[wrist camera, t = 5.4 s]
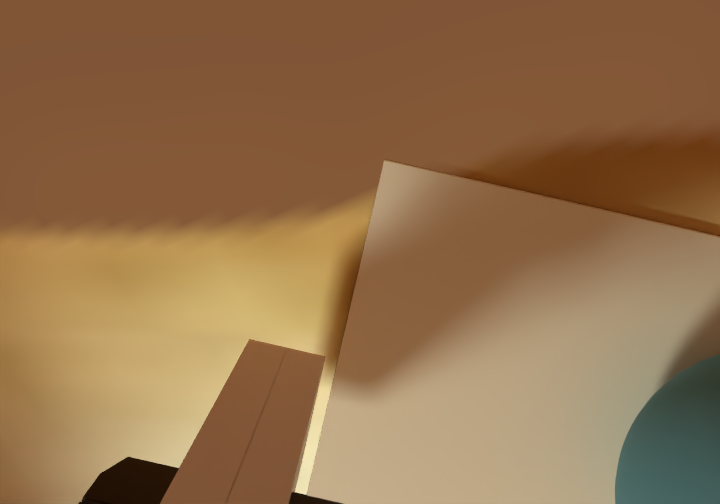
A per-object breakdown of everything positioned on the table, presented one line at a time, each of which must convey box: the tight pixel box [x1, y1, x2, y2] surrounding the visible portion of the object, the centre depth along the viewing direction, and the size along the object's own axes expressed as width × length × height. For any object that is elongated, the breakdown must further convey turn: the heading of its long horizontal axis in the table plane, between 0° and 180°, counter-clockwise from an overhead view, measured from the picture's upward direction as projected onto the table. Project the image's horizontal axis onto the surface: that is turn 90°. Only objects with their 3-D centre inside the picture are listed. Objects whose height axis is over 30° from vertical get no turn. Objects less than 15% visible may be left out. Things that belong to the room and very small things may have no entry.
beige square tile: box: [307, 159, 720, 504], centre depth 15 cm, size 10×10×1 cm
